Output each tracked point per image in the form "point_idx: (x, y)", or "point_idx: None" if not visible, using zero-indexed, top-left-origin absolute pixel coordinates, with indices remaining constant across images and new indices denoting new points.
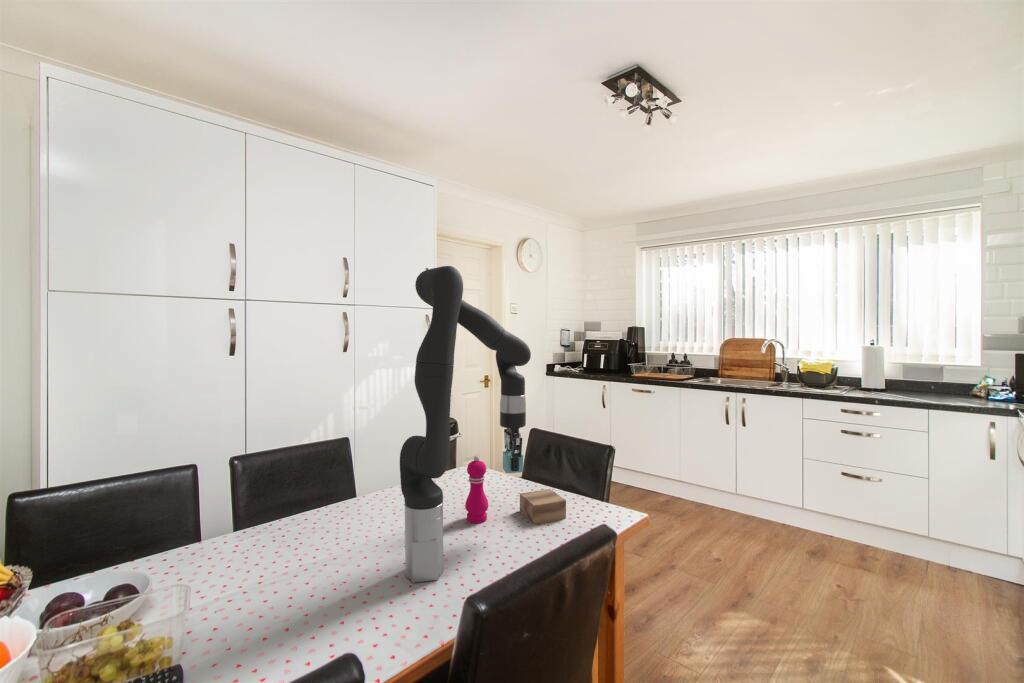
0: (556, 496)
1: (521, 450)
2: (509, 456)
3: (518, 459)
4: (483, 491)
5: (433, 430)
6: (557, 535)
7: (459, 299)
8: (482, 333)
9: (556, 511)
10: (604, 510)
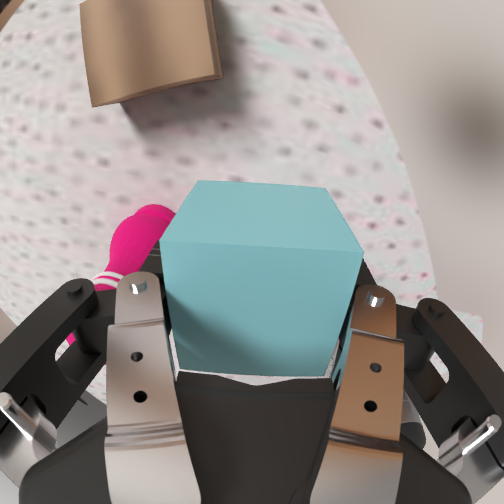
0: None
1: (481, 346)
2: (328, 354)
3: (361, 279)
4: (134, 255)
5: None
6: (318, 42)
7: None
8: None
9: (208, 2)
10: None
